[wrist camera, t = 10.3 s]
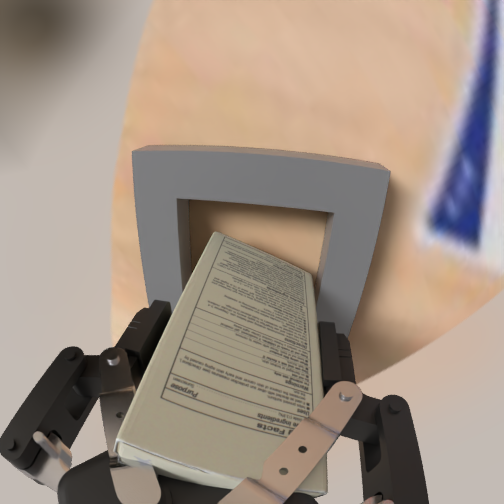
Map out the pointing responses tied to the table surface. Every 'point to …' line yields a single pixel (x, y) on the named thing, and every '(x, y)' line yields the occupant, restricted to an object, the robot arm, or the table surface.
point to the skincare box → (230, 372)
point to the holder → (262, 193)
